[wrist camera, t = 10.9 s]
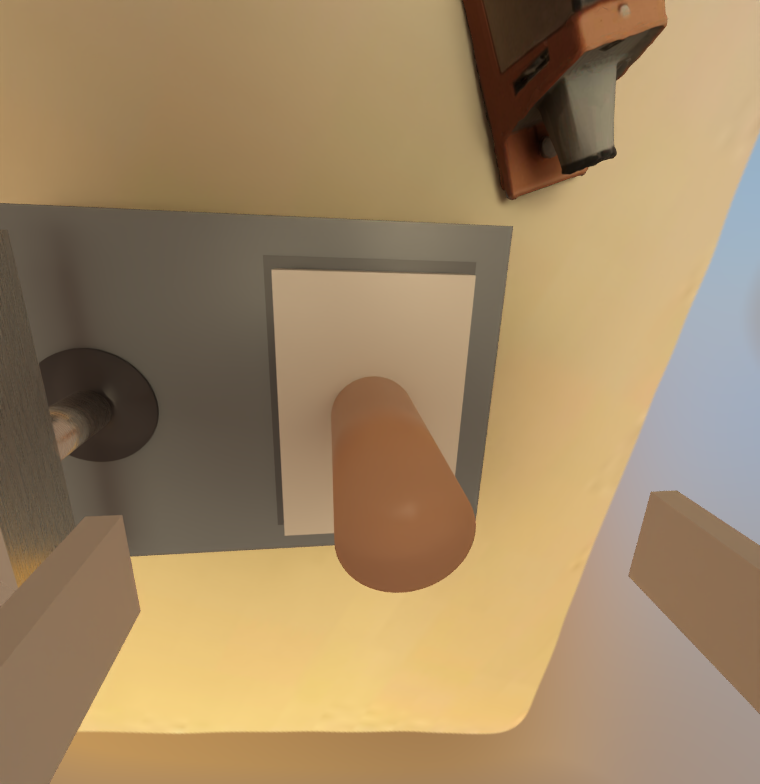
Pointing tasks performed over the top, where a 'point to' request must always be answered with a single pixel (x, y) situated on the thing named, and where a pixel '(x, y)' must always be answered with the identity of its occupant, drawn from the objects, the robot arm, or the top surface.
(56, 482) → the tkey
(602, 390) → the top surface
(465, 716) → the top surface
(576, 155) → the electronic device
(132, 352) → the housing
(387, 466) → the cover
